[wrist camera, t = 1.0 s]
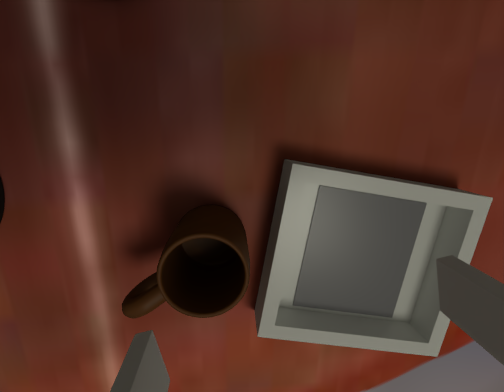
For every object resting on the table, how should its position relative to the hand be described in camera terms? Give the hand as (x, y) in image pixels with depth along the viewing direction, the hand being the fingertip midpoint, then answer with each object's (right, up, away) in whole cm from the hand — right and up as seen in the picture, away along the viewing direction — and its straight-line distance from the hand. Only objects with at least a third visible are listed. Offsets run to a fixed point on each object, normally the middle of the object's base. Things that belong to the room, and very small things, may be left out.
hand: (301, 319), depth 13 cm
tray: (+9, -1, +21) cm, 23 cm away
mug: (-9, 0, +19) cm, 21 cm away
